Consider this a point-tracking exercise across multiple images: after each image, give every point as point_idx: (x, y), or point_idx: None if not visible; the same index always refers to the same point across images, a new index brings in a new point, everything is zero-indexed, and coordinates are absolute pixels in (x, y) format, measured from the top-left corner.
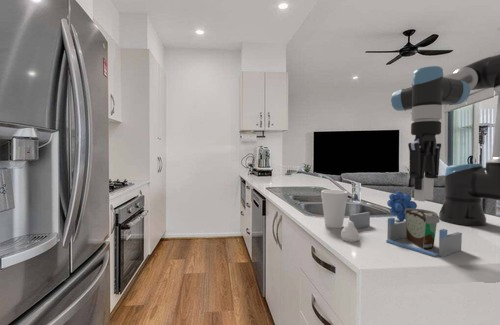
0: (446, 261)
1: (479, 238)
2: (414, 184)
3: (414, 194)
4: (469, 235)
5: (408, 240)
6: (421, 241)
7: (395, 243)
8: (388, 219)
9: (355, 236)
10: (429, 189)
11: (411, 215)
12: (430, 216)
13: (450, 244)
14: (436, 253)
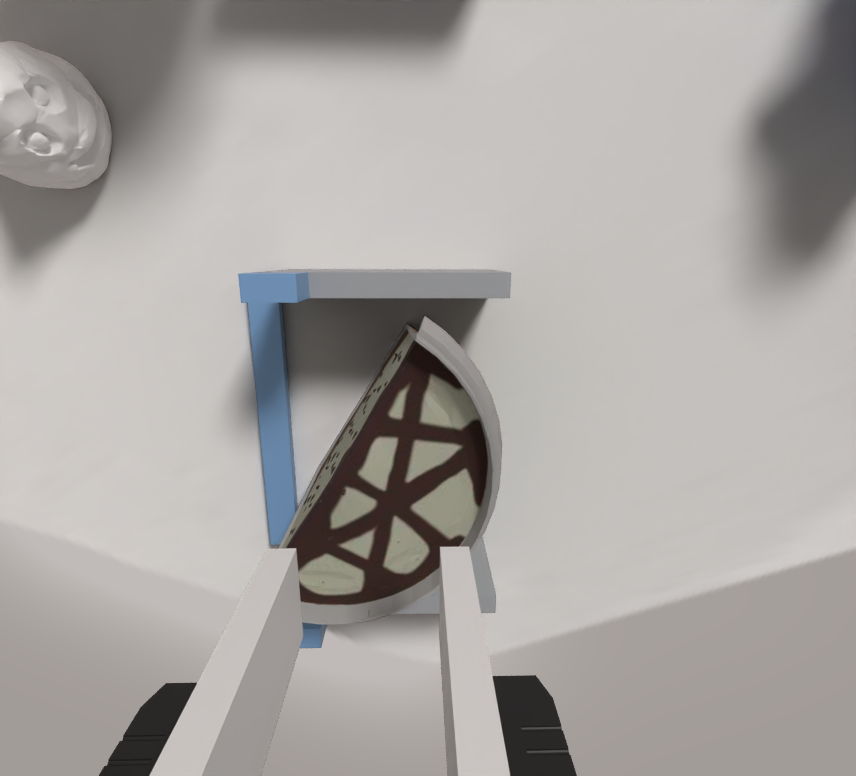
0: None
1: (793, 509)
2: (181, 717)
3: (243, 597)
4: (821, 458)
5: (392, 346)
6: (323, 466)
7: (253, 350)
8: (242, 280)
9: (32, 181)
10: (446, 720)
11: (367, 415)
12: None
13: None
14: None
